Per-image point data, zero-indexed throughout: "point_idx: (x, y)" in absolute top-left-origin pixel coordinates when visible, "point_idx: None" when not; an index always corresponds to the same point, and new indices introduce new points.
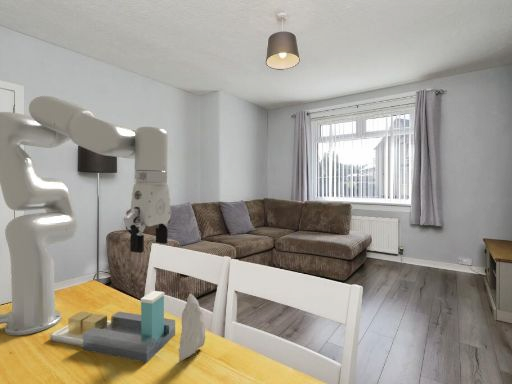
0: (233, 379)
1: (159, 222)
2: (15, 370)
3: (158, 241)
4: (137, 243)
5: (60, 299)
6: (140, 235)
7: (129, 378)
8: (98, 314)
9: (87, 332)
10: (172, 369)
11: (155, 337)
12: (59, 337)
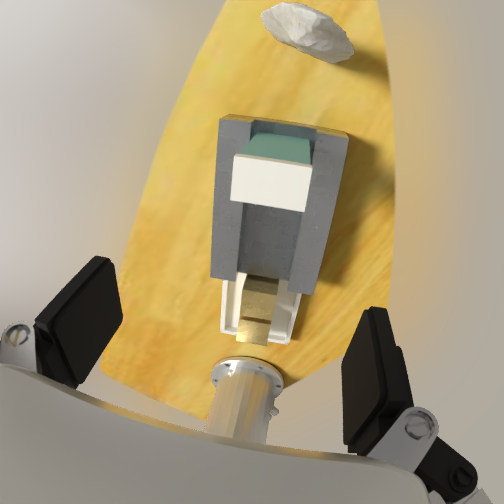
0: None
1: (181, 447)
2: None
3: (117, 310)
4: (405, 370)
5: (169, 385)
6: (414, 409)
7: (391, 145)
8: (241, 307)
9: (307, 290)
10: (359, 70)
11: (294, 138)
12: (292, 328)
